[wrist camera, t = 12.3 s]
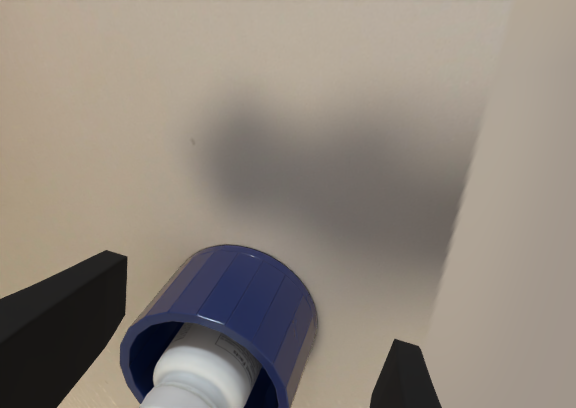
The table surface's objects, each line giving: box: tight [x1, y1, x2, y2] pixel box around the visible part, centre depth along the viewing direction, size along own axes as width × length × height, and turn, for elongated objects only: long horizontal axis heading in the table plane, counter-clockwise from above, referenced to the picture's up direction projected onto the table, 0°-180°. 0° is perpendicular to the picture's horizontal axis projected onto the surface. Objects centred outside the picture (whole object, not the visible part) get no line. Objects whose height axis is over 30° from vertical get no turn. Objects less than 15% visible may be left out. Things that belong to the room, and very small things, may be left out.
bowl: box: [120, 245, 317, 408], centre depth 25 cm, size 8×8×6 cm
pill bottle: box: [139, 322, 262, 408], centre depth 23 cm, size 4×4×8 cm
